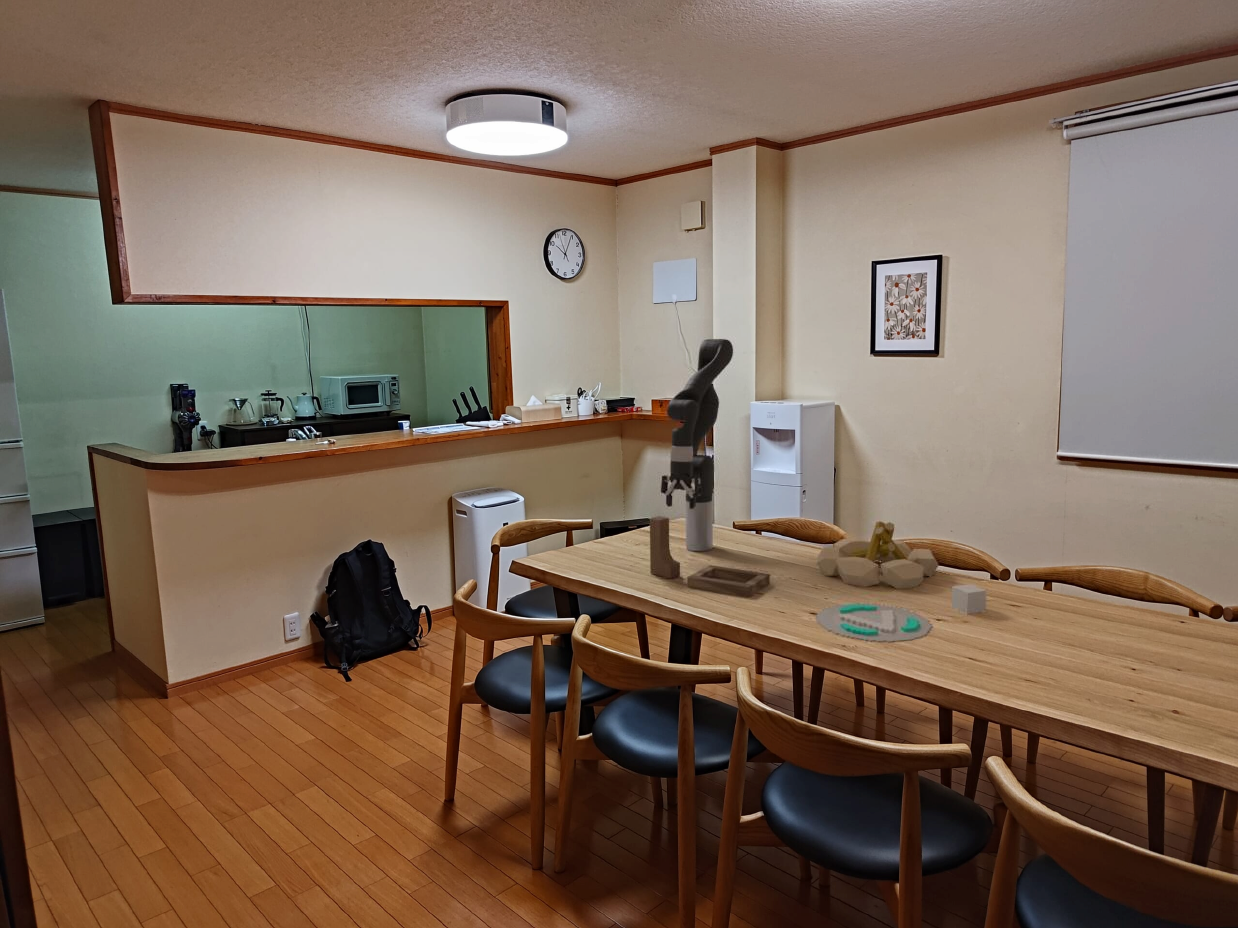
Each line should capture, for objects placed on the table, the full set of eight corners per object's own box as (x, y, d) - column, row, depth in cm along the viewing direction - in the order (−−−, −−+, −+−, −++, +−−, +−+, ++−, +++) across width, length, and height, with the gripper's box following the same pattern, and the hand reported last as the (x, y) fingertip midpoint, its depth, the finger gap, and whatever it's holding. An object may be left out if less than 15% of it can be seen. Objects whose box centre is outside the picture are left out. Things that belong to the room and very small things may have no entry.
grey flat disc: (847, 648, 195) (848, 642, 195) (799, 610, 222) (799, 605, 222) (953, 637, 201) (953, 631, 200) (894, 602, 228) (894, 597, 228)
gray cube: (969, 605, 223) (970, 583, 222) (985, 612, 217) (986, 590, 216) (951, 607, 221) (952, 586, 220) (966, 614, 215) (967, 592, 215)
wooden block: (680, 576, 255) (680, 519, 252) (670, 579, 252) (670, 522, 249) (659, 570, 262) (659, 515, 259) (650, 573, 259) (649, 518, 256)
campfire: (913, 598, 230) (915, 539, 228) (801, 578, 251) (801, 524, 248) (948, 569, 258) (950, 516, 255) (845, 553, 278) (846, 504, 276)
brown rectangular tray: (710, 574, 257) (710, 565, 256) (769, 583, 246) (769, 573, 245) (687, 586, 244) (687, 577, 244) (748, 597, 233) (748, 587, 233)
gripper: (705, 460, 272) (704, 508, 274) (668, 457, 280) (667, 504, 282) (695, 461, 266) (693, 511, 268) (657, 458, 274) (656, 506, 275)
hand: (680, 507), depth 275 cm, fingers open, 8 cm apart
